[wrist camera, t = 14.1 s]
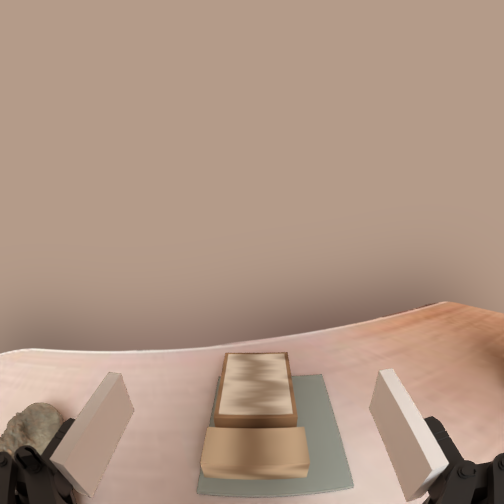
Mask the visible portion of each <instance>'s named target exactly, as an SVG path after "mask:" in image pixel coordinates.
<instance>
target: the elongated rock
mask: <svg viewBox="0 0 504 504" xmlns="http://www.w3.org/2000/svg"><path fill="white" fill-rule="evenodd" d="M62 424H63V418H62V415H60V413H59V412H58V411H57V410H56V409H55V408H54V407H53V406H51V405H50V404H47V403H34V404H31V405H30V406H28V407H27V408H26V409H25V410H24V411H22V413H16V416H14V417H13V418H12V419H11V420H10V421H9V422H8V424H7V429H6V430H5V431H4V434H2V436H1V437H2V438H1V437H0V452H1V451H4V452H8V453H9V454H10V455H11V456H12V458H13V459H14V453H15V451H16V450H17V449H18V448H19V447H21V446H24V445H29V446H32V447H34V448H35V449H36V450H37V452H38V453H39V454H40V456H41V454H42V453H43V451H44V450H45V448H46V447H47V445H48V444H49V442H50V441H51V440H52V438H53V437H54V435H55V434H56V432H58V429H59V428H60V427H61V425H62ZM72 489H73V488H72ZM71 491H72V490H71Z"/></svg>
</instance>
